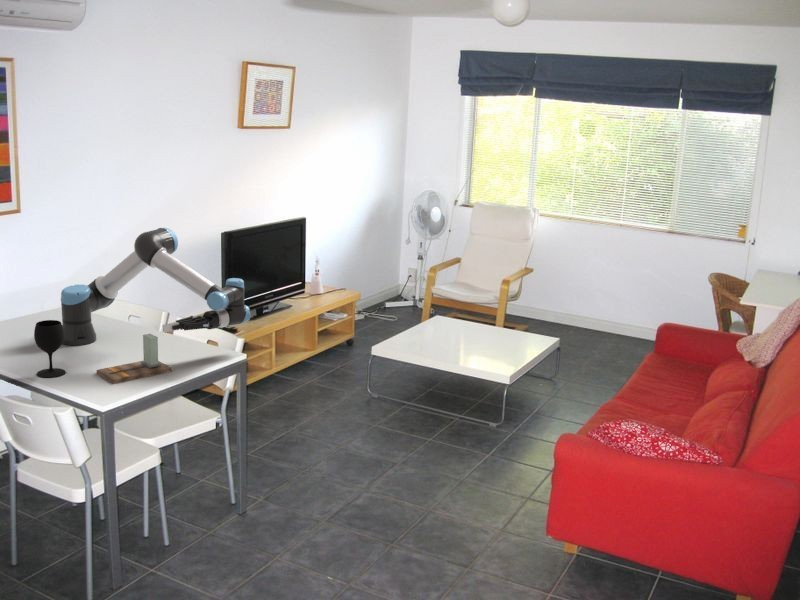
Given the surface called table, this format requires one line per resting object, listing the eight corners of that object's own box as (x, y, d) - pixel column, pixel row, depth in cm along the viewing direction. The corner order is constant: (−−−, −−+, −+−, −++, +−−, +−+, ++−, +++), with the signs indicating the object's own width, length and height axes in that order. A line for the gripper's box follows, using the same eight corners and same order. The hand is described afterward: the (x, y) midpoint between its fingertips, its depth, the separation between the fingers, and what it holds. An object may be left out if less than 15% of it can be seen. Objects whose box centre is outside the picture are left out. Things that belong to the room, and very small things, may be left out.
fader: (149, 367, 324) (148, 339, 321) (140, 363, 328) (139, 334, 325) (161, 365, 327) (160, 337, 324) (152, 360, 332) (151, 332, 329)
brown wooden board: (113, 383, 310) (113, 379, 310) (96, 373, 320) (96, 369, 319) (171, 371, 327) (171, 367, 326) (154, 362, 336) (153, 358, 336)
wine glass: (62, 378, 314) (59, 327, 309) (33, 378, 312) (30, 327, 307) (68, 369, 323) (66, 319, 319) (40, 369, 322) (37, 319, 317)
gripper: (224, 331, 340) (172, 341, 324) (207, 324, 349) (155, 333, 333) (224, 313, 339) (171, 322, 322) (206, 307, 348) (154, 315, 331)
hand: (163, 328), depth 328 cm, fingers closed
